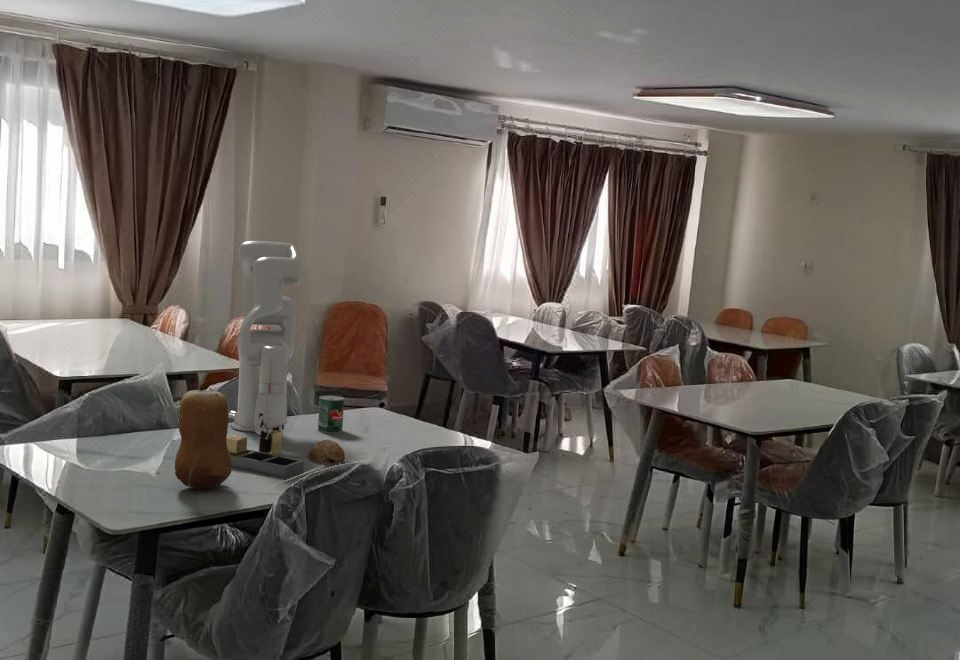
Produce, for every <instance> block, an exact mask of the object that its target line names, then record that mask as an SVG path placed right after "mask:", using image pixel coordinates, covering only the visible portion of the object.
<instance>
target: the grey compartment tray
mask: <svg viewBox="0 0 960 660" xmlns="http://www.w3.org/2000/svg"><path fill="white" fill-rule="evenodd" d="M230 456H231V461H232V465H231V468H232V469H238V470H242V471H243V470H244V471H248V472H253V473H258V474H262V475H267V476H271V477H272V476H273V477H277V478H281V479H282V478H283V481H287V480H289V479H292V478H295V477H298V476H300V475H302V474H303V475H304V472H305V471H304V469H305V466H304V465H305V460H302V459H297V458H292V457H289V456H288V457H287V456H284V455H279V454H277V455H273V454H268V453H263V452H259V450H257V451H256V450H251V449H248V448H247V452H246V453H245V454H242V455H239V456H234V455H230Z"/></svg>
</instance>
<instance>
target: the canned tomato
mask: <svg viewBox="0 0 960 660" xmlns="http://www.w3.org/2000/svg"><path fill="white" fill-rule="evenodd" d="M318 403H319V404H318V418H317V419H318V422H317V431H318V432H319V433H323V434H341V433H342V432H343V424H344V423H343V421H344V407H345V397H343V396H341V395H335V394H334V395H331V394H328V395H325V394H324V395H320V396H319V402H318Z"/></svg>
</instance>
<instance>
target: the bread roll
mask: <svg viewBox="0 0 960 660" xmlns="http://www.w3.org/2000/svg"><path fill="white" fill-rule="evenodd" d="M308 459H309V461H310V462H314V463H318V464H322V465H323V466H335V464H336V465H340V464H339V463H341V464H343V463H344V461H345V450H344V449H343V448H342V447H341V446H340V445H339V443H338V442H336V441H334V440H330V439H324V440H320V441H319V442H317V443H316V444H315V445H314V446H312V447H311V448H310V449H309V452H308Z"/></svg>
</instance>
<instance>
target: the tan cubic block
mask: <svg viewBox="0 0 960 660" xmlns="http://www.w3.org/2000/svg"><path fill="white" fill-rule="evenodd" d="M264 432H265V433H266V430H264ZM282 438H283V431H278V430H273V429H272V428H271V430H270V435H269V439H270V452H269V453H268V454H273V455H280V454H282V440H283V439H282ZM258 439H259V440H258V443H259V444H258V448H259V447H260V438H259V437H258ZM258 452H260V451H259V450H258ZM263 453H264V452H263Z"/></svg>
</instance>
